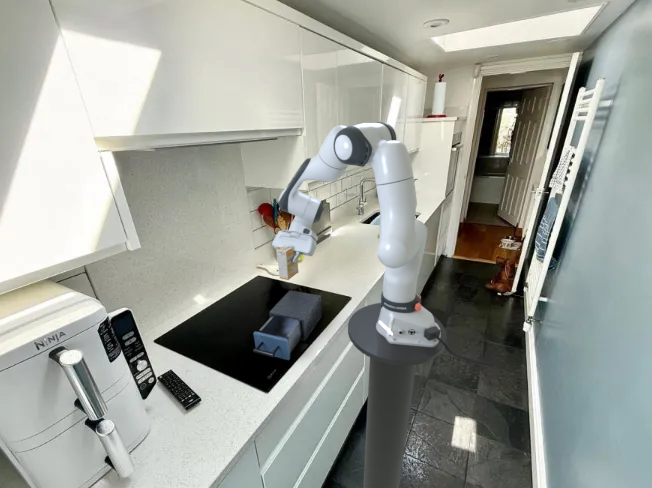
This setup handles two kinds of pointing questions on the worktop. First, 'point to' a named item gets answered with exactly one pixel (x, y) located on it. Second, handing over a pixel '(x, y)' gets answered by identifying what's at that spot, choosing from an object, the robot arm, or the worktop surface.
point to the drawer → (278, 337)
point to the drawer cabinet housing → (300, 310)
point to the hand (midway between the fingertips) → (287, 261)
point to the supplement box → (287, 262)
